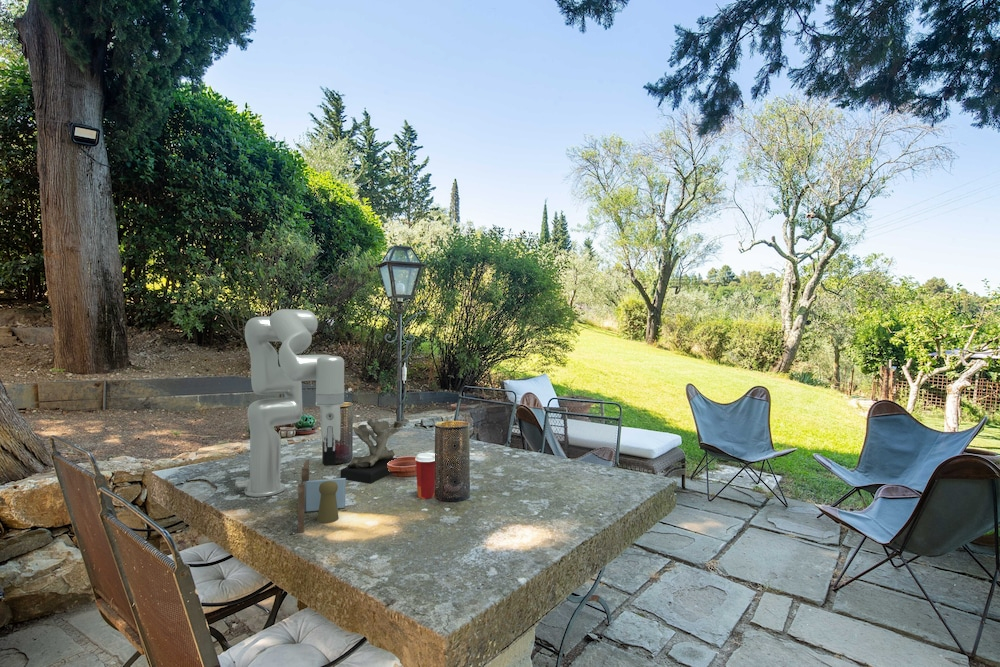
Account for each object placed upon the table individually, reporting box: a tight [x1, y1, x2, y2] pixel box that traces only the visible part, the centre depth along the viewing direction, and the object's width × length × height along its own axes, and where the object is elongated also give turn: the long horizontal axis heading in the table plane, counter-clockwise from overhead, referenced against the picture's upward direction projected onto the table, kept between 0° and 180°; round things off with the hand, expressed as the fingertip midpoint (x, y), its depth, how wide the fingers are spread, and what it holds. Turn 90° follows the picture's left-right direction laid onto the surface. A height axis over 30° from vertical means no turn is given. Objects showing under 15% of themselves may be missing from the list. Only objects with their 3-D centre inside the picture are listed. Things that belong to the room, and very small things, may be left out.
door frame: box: [297, 459, 310, 534], centre depth 145 cm, size 2×27×13 cm, turn 19°
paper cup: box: [414, 452, 436, 500], centre depth 162 cm, size 8×8×14 cm
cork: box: [316, 481, 340, 524], centre depth 141 cm, size 6×6×11 cm
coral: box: [339, 418, 410, 485], centre depth 187 cm, size 25×20×22 cm
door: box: [303, 477, 347, 513], centre depth 148 cm, size 1×12×9 cm, turn 109°
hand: (329, 464), depth 135 cm, fingers closed
